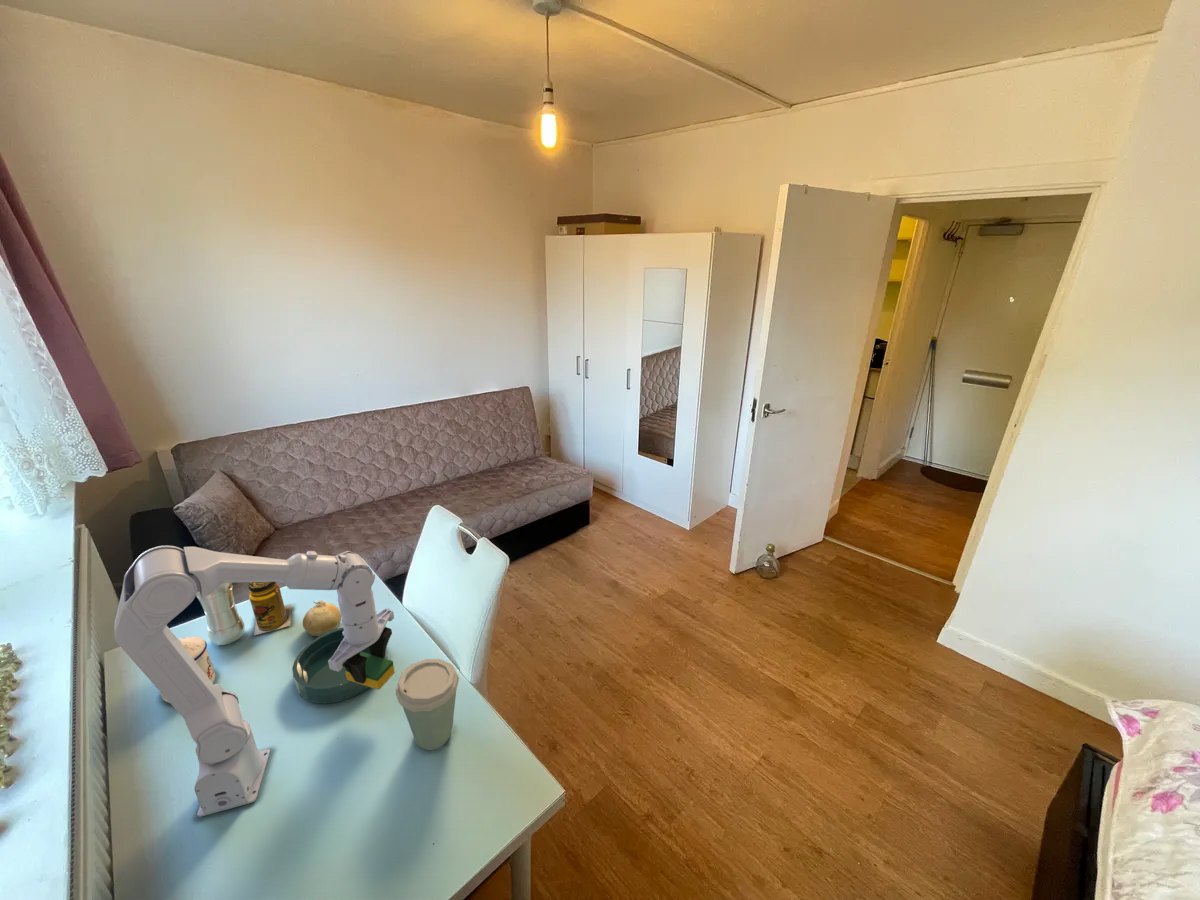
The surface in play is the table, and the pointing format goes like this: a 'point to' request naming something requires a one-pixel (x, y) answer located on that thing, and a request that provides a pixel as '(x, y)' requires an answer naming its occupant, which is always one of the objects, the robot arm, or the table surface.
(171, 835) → the table surface
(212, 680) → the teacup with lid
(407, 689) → the disposable coffee cup
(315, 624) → the onion
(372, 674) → the sponge
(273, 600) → the condiment
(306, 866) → the table surface
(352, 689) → the bowl
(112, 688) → the table surface
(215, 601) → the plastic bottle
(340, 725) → the table surface
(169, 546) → the robot arm
